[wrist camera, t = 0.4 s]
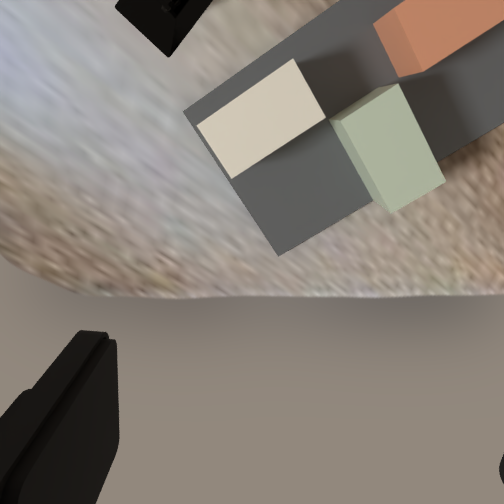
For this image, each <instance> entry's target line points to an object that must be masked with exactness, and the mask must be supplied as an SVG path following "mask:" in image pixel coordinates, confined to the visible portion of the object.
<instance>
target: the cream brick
mask: <svg viewBox="0 0 504 504" xmlns="http://www.w3.org/2000/svg"><path fill="white" fill-rule="evenodd" d="M324 118H326V117H325V115H324V113H323V111H322V109H321V108H320V106H319V104H318V102H317V100H316V99H315V97H314V95H313V93H312V91H311V90H310V88H309V86H308V84H307V82H306V81H305V79H304V77H303V75H302V73H301V72H300V70H299V68H298V66H297V64H296V63H295V61H294V59H291V60H290V61H288V62H287V63H286V64H284V65H283V66H281V67H280V68H278V69H277V70H276V71H274V72H273V73H271V74H270V75H268V76H267V77H265V78H264V79H263V80H261V81H260V82H258V83H257V84H255V85H254V86H253V87H251V88H250V89H248V90H247V91H245V92H244V93H242V94H241V95H240V96H238V97H237V98H235V99H234V100H232V101H231V102H229V103H228V104H227V105H225V106H224V107H222V108H221V109H219V110H218V111H217V112H215V113H214V114H212V115H211V116H209V117H208V118H206V119H205V120H204V121H202V122H201V123H199V124H198V125H196V126H197V127H198V129H199V130H200V132H201V133H202V135H203V136H204V138H205V139H206V141H207V142H208V144H209V145H210V147H211V148H212V150H213V151H214V153H215V155H216V156H217V158H218V159H219V161H220V162H221V164H222V165H223V167H224V168H225V170H226V171H227V173H228V174H229V176H230V177H231V179H232V178H234V177H235V176H237V175H238V174H240V173H241V172H243V171H244V170H246V169H248V168H249V167H251V166H252V165H254V164H255V163H257V162H258V161H260V160H261V159H263V158H264V157H266V156H267V155H269V154H271V153H272V152H274V151H275V150H277V149H278V148H280V147H281V146H283V145H284V144H286V143H287V142H289V141H290V140H292V139H294V138H295V137H297V136H298V135H300V134H301V133H303V132H304V131H306V130H307V129H309V128H310V127H312V126H313V125H315V124H317V123H318V122H320V121H321V120H323V119H324Z"/></svg>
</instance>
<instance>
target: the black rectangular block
mask: <svg viewBox="0 0 504 504" xmlns="http://www.w3.org/2000/svg"><path fill="white" fill-rule="evenodd" d="M212 1H213V0H119V1H118V2H117V4H116V5H115V8H116V9H117V10H118V11H119V12H120V13H121V14H122V15H123V16H124V17H125V18H126V19H127V20H128V21H129V22H130V23H131V24H133V25H134V26H135V27H136V28H137V29H138V30H139V31H140V32H141V33H142V34H143V35H144V36H145V37H146V38H147V39H149V40H150V41H151V42H152V43H153V44H154V45H155V46H156V47H157V48H158V49H159V50H160V51H161V52H162V53H164V54H165V55H166V56H167V57H170V56H171V55H172V54H173V52H174V51H175V50H176V48H177V47H178V46H179V44H180V43H181V42H182V40H183V39H184V38H185V36H186V35H187V34H188V32H189V31H190V30H191V29H192V27H193V26H194V25H195V23H196V22H197V21H198V19H199V18H200V17H201V15H202V14H203V13H204V11H205V10H206V9H207V7H208V6H209V5H210V3H211V2H212Z"/></svg>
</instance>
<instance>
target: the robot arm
mask: <svg viewBox="0 0 504 504" xmlns="http://www.w3.org/2000/svg"><path fill="white" fill-rule="evenodd" d="M118 444H119V403H118V368H117V343H116V340H113V339H109V336H108V334H107V333H106V332H97V331H84V330H80V331H79V332H77V334H76V335H75V336H74V337H73V338H72V340H71V341H70V342H69V343H68V345H67V346H66V347H65V348H64V349H63V351H62V352H61V353H60V354H59V356H58V357H57V358H56V359H55V361H54V362H53V363H52V364H51V366H50V367H49V368H48V369H47V370H46V372H45V373H44V374H43V376H42V377H41V378H40V379H39V380H38V381H37V383H36V384H35V385H34V386H33V388H32V389H28V390H25V391H23V392H22V393H21V394H20V395H19V396H18V397H17V399H16V400H15V401H14V402H13V403H12V404H11V406H10V407H9V408H8V409H7V410H6V411H5V413H4V414H3V415H2V416H1V417H0V504H96V501H97V499H98V497H99V494H100V492H101V489H102V487H103V484H104V482H105V479H106V477H107V474H108V472H109V470H110V467H111V465H112V463H113V460H114V458H115V455H116V452H117V449H118ZM499 472H500V477H501V479H502V482H503V483H504V454H503V457H502V460H501V462H500V466H499Z"/></svg>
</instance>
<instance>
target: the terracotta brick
mask: <svg viewBox="0 0 504 504" xmlns="http://www.w3.org/2000/svg"><path fill="white" fill-rule="evenodd" d="M503 20H504V0H405V1H403V2H402V3H400V4H399V5H397V6H396V7H395V8H393V9H392V10H391V11H389V12H388V13H387V14H385V15H384V16H383V17H381V18H380V19H379V20H377V21H376V22H375V23H373V25H374V27H375V30H376V32H377V34H378V36H379V38H380V40H381V42H382V44H383V46H384V48H385V50H386V52H387V54H388V56H389V58H390V60H391V62H392V65H393V67H394V69H395V71H396V73H397V75H398V77H403V76H407V75H411V74H416V73H420V72H424V71H425V70H427V69H428V68H430V67H431V66H433V65H434V64H436V63H438V62H439V61H441V60H442V59H444V58H445V57H447V56H448V55H450V54H452V53H453V52H455V51H456V50H458V49H459V48H461V47H462V46H464V45H465V44H467V43H469V42H470V41H472V40H473V39H475V38H476V37H478V36H479V35H481V34H483V33H484V32H486V31H487V30H489V29H490V28H492V27H493V26H495V25H497V24H498V23H500V22H501V21H503Z"/></svg>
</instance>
